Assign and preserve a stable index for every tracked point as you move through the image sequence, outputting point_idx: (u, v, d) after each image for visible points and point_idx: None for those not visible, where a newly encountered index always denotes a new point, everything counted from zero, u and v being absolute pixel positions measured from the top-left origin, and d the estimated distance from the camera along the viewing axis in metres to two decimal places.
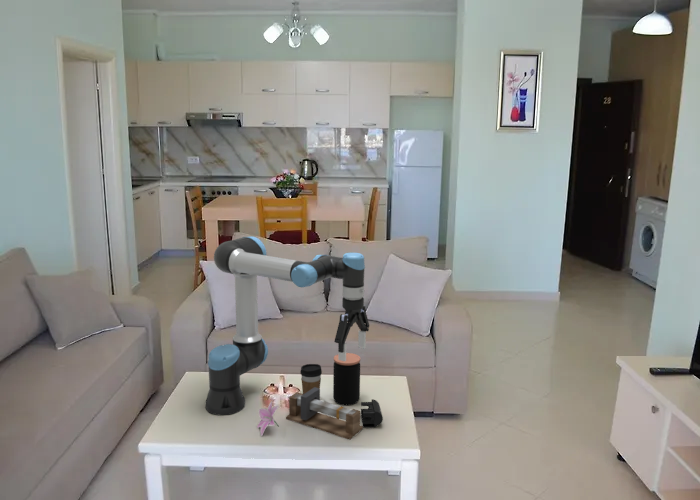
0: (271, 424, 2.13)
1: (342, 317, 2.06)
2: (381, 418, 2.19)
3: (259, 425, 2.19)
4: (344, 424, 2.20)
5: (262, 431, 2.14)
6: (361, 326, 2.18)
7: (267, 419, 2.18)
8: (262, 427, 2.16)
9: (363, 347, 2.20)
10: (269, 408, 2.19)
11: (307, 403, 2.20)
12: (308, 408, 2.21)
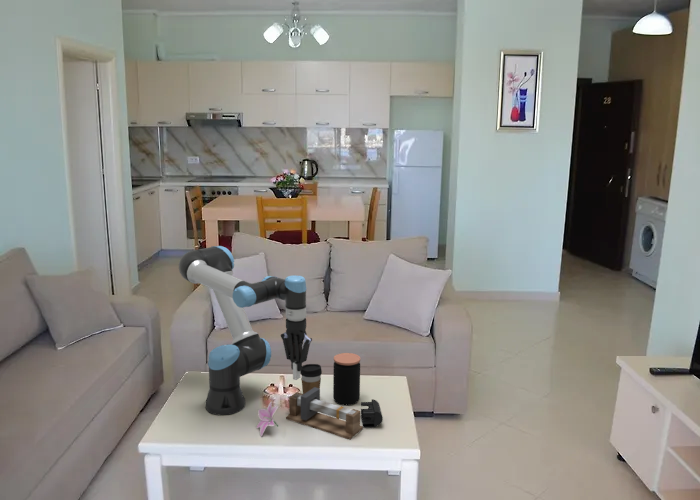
0: (271, 424, 2.13)
1: None
2: (381, 418, 2.19)
3: (258, 425, 2.18)
4: (344, 424, 2.20)
5: (262, 431, 2.14)
6: None
7: (267, 419, 2.18)
8: (262, 427, 2.15)
9: None
10: (269, 408, 2.19)
11: (307, 403, 2.20)
12: (308, 408, 2.21)
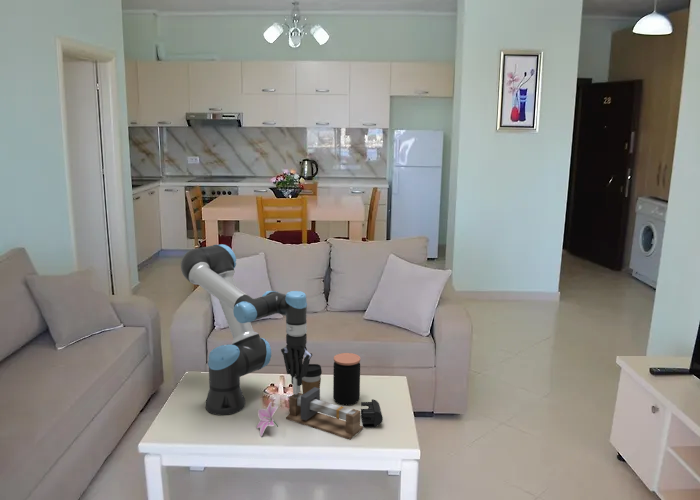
0: (271, 424, 2.13)
1: None
2: (381, 418, 2.19)
3: (258, 425, 2.18)
4: (344, 424, 2.20)
5: (262, 431, 2.14)
6: None
7: (266, 419, 2.18)
8: (262, 427, 2.15)
9: None
10: (268, 408, 2.19)
11: (307, 403, 2.20)
12: (308, 408, 2.21)
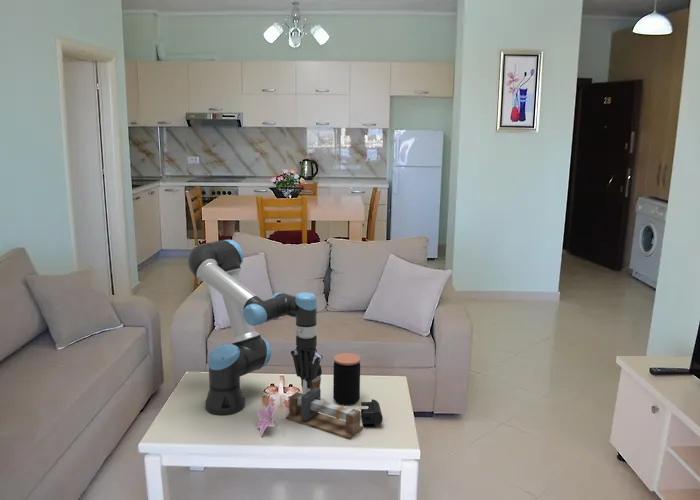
0: (270, 425, 2.13)
1: None
2: (381, 418, 2.19)
3: (258, 426, 2.18)
4: (344, 424, 2.20)
5: (261, 432, 2.14)
6: None
7: (266, 420, 2.18)
8: (261, 428, 2.15)
9: None
10: (268, 409, 2.19)
11: (308, 403, 2.20)
12: (309, 408, 2.21)
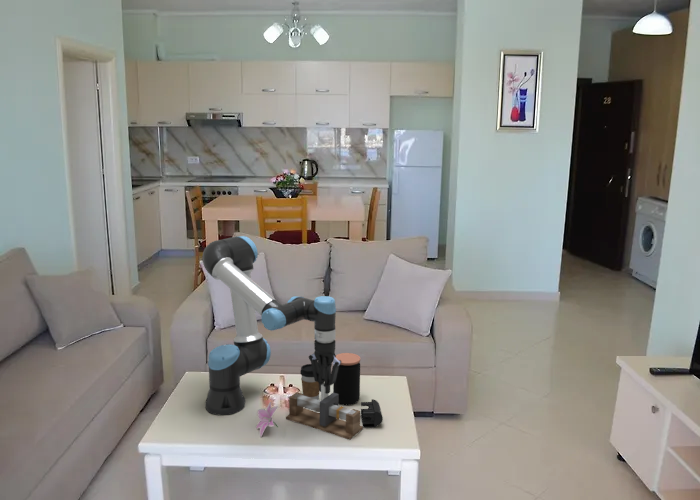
0: (270, 425, 2.13)
1: None
2: (381, 418, 2.19)
3: (258, 426, 2.18)
4: (344, 424, 2.20)
5: (261, 432, 2.13)
6: None
7: (266, 420, 2.18)
8: (261, 428, 2.15)
9: None
10: (268, 409, 2.19)
11: (326, 409, 2.16)
12: (327, 414, 2.17)
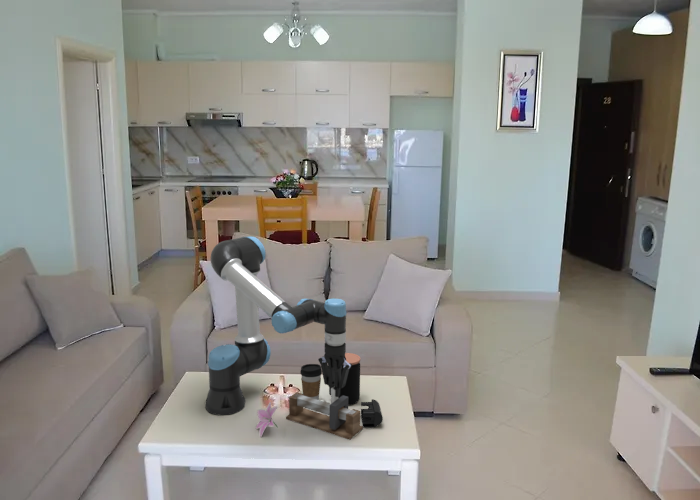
0: (270, 425, 2.13)
1: None
2: (381, 418, 2.19)
3: (258, 426, 2.18)
4: (344, 424, 2.20)
5: (261, 432, 2.13)
6: None
7: (266, 420, 2.18)
8: (261, 428, 2.15)
9: None
10: (268, 409, 2.19)
11: (336, 412, 2.14)
12: (337, 417, 2.15)
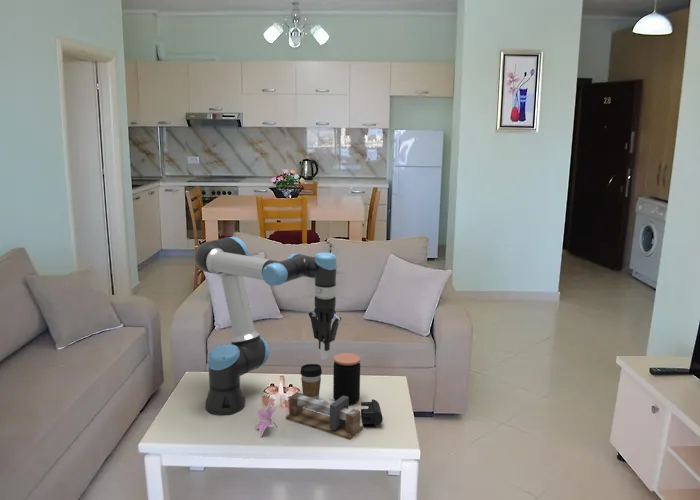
0: (270, 425, 2.12)
1: None
2: (381, 418, 2.19)
3: (257, 426, 2.18)
4: (344, 424, 2.20)
5: (261, 432, 2.13)
6: None
7: (266, 420, 2.18)
8: (261, 428, 2.15)
9: None
10: (267, 409, 2.18)
11: (336, 412, 2.14)
12: (337, 417, 2.15)
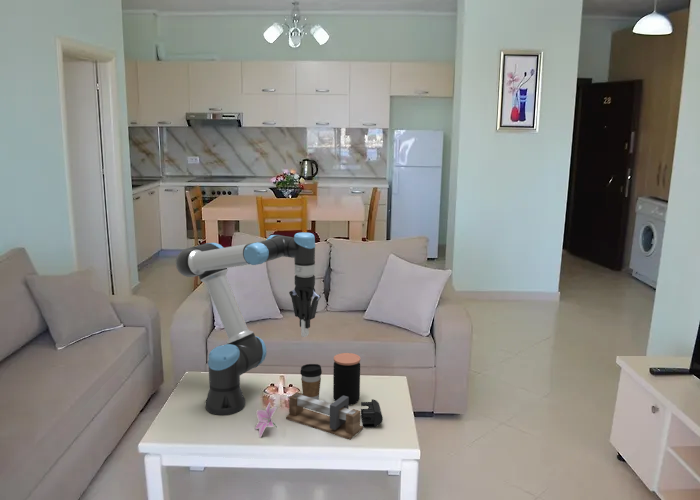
0: (270, 425, 2.12)
1: None
2: (381, 418, 2.19)
3: (257, 426, 2.18)
4: (344, 424, 2.20)
5: (261, 432, 2.13)
6: None
7: (265, 420, 2.17)
8: (261, 428, 2.15)
9: None
10: (267, 409, 2.18)
11: (336, 412, 2.14)
12: (337, 417, 2.15)
